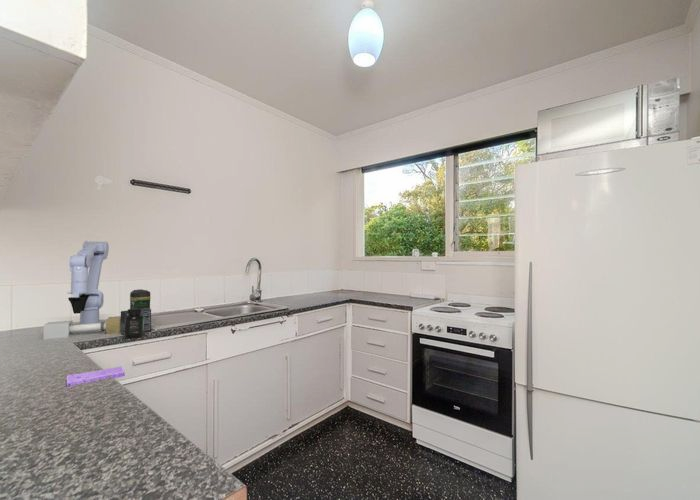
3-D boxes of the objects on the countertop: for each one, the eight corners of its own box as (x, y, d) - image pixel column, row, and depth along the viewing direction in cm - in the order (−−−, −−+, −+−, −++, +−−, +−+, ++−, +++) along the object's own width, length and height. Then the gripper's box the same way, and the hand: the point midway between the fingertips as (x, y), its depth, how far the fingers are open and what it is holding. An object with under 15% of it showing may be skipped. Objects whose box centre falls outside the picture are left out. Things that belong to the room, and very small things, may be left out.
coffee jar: (152, 327, 158) (152, 289, 159) (133, 329, 152) (134, 290, 153) (145, 324, 165) (146, 288, 165) (127, 327, 159) (127, 289, 159)
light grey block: (43, 339, 133) (43, 324, 134) (48, 336, 139) (48, 322, 139) (68, 337, 137) (68, 322, 138) (72, 334, 143) (72, 320, 143)
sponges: (66, 382, 88) (66, 375, 88) (122, 371, 96) (122, 365, 97) (66, 389, 83) (66, 382, 83) (125, 377, 91) (125, 371, 91)
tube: (61, 335, 137) (61, 325, 137) (63, 333, 141) (64, 324, 141) (112, 330, 146) (113, 321, 146) (114, 329, 150) (114, 320, 150)
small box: (145, 329, 152) (146, 307, 153) (151, 331, 148) (152, 308, 149) (119, 334, 144) (120, 310, 144) (125, 336, 140) (125, 311, 140)
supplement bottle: (147, 335, 141) (147, 307, 142) (135, 338, 135) (136, 310, 135) (132, 334, 142) (133, 307, 142) (120, 338, 135) (120, 310, 136)
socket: (105, 334, 143) (106, 319, 144) (108, 331, 150) (108, 317, 150) (119, 332, 146) (119, 318, 146) (121, 329, 152) (121, 316, 152)
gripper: (71, 281, 148) (71, 310, 148) (63, 283, 136) (63, 315, 135) (91, 280, 152) (90, 309, 151) (85, 282, 139) (84, 313, 139)
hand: (79, 312), depth 143 cm, fingers open, 7 cm apart
